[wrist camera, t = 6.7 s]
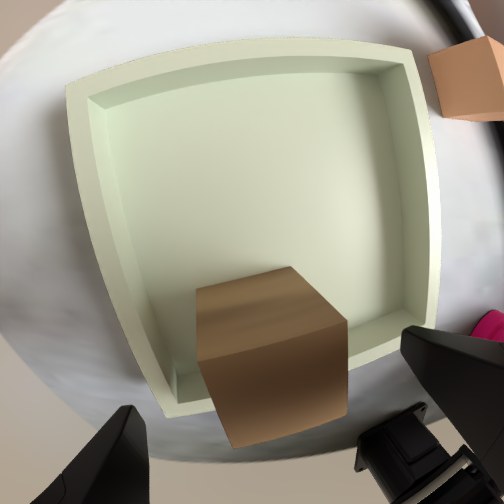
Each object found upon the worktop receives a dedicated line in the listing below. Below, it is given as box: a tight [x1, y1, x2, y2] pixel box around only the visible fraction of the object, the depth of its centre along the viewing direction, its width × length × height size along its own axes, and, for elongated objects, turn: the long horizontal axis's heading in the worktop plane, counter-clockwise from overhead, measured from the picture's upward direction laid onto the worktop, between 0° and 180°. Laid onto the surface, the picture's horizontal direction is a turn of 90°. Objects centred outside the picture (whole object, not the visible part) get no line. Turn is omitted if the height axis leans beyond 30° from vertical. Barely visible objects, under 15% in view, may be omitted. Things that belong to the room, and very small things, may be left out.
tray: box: [65, 37, 441, 418], centre depth 11 cm, size 14×14×3 cm
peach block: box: [427, 36, 504, 122], centre depth 10 cm, size 4×4×5 cm
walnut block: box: [196, 266, 348, 449], centre depth 10 cm, size 4×4×5 cm
